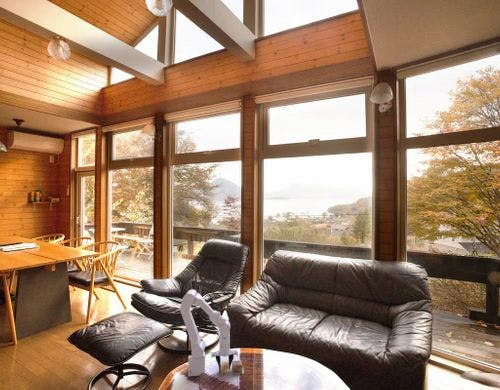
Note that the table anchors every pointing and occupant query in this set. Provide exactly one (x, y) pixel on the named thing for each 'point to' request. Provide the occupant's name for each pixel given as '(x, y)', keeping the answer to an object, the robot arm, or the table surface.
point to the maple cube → (224, 367)
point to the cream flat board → (237, 373)
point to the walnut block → (237, 366)
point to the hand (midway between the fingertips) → (224, 369)
